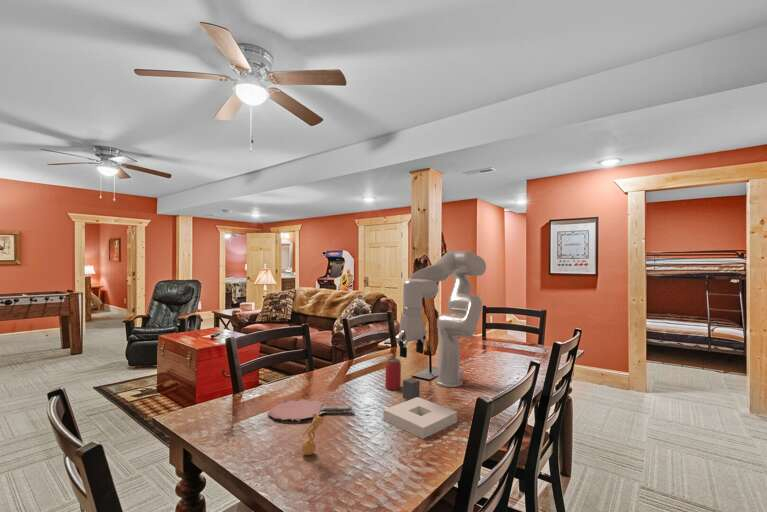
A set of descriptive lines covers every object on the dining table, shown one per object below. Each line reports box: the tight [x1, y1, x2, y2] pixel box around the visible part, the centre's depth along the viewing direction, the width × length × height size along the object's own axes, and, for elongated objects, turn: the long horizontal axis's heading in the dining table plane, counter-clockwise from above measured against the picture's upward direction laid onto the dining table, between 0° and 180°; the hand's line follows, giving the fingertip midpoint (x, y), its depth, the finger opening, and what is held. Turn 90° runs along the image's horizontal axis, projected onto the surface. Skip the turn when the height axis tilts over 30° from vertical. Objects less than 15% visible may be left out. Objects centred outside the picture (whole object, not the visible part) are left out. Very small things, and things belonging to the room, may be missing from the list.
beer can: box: [384, 358, 402, 391], centre depth 158 cm, size 7×7×12 cm
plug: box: [402, 377, 421, 401], centre depth 144 cm, size 5×5×8 cm
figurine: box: [301, 413, 325, 456], centre depth 103 cm, size 8×6×12 cm
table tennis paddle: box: [267, 398, 354, 424], centre depth 129 cm, size 18×29×3 cm, turn 73°
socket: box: [382, 396, 458, 440], centre depth 126 cm, size 18×18×4 cm
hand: (411, 354), depth 144 cm, fingers open, 9 cm apart
